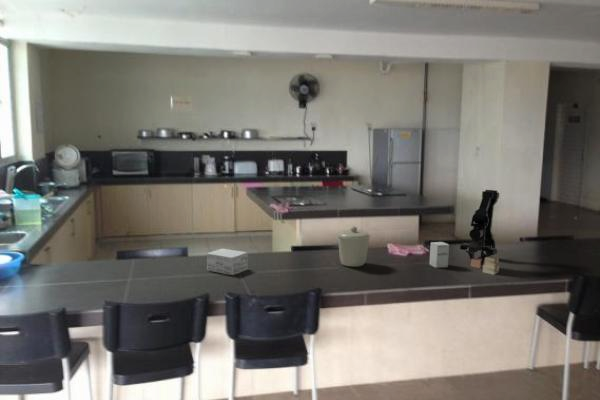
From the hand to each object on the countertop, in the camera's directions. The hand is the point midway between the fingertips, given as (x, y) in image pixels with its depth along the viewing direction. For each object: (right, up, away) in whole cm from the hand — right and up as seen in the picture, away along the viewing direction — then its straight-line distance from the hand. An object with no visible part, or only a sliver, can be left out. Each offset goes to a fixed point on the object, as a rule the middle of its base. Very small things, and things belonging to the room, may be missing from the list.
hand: (477, 264), depth 280 cm
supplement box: (-21, -1, 0) cm, 21 cm away
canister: (-68, 0, -1) cm, 68 cm away
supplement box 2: (-134, -1, -14) cm, 135 cm away
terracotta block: (0, -1, 0) cm, 1 cm away
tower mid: (+3, +1, -12) cm, 12 cm away
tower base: (+3, -3, -11) cm, 12 cm away
